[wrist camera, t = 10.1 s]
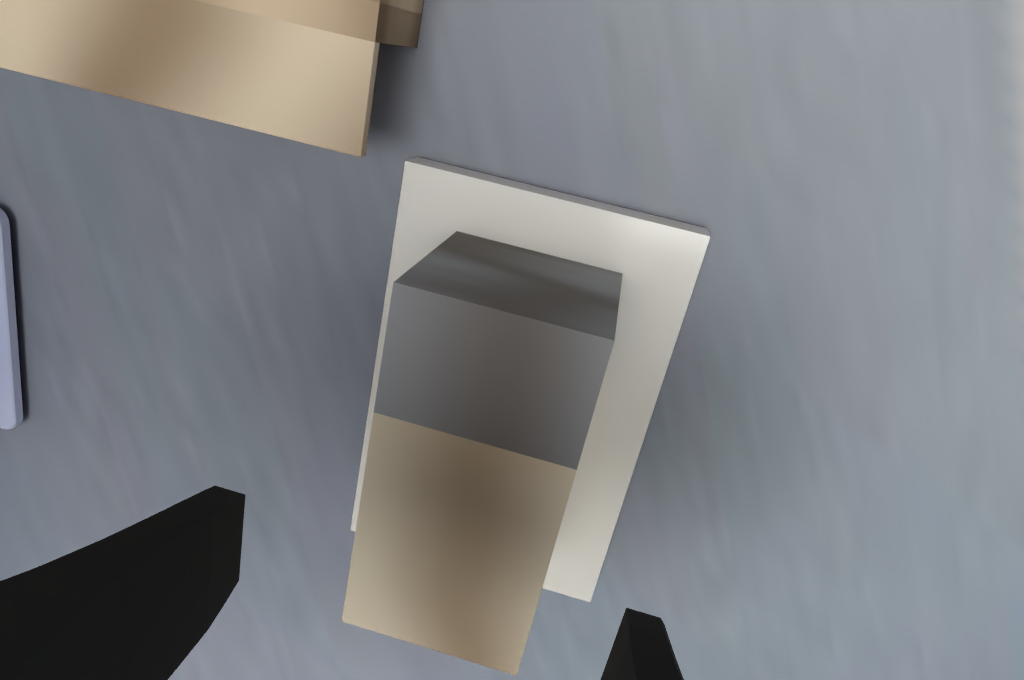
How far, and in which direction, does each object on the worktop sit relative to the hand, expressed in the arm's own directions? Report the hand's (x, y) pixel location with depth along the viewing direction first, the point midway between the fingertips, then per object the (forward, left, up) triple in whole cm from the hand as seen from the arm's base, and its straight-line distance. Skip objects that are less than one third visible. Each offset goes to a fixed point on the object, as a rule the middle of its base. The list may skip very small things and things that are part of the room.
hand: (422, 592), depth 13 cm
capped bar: (0, 0, -8) cm, 8 cm away
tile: (0, 0, -9) cm, 9 cm away
